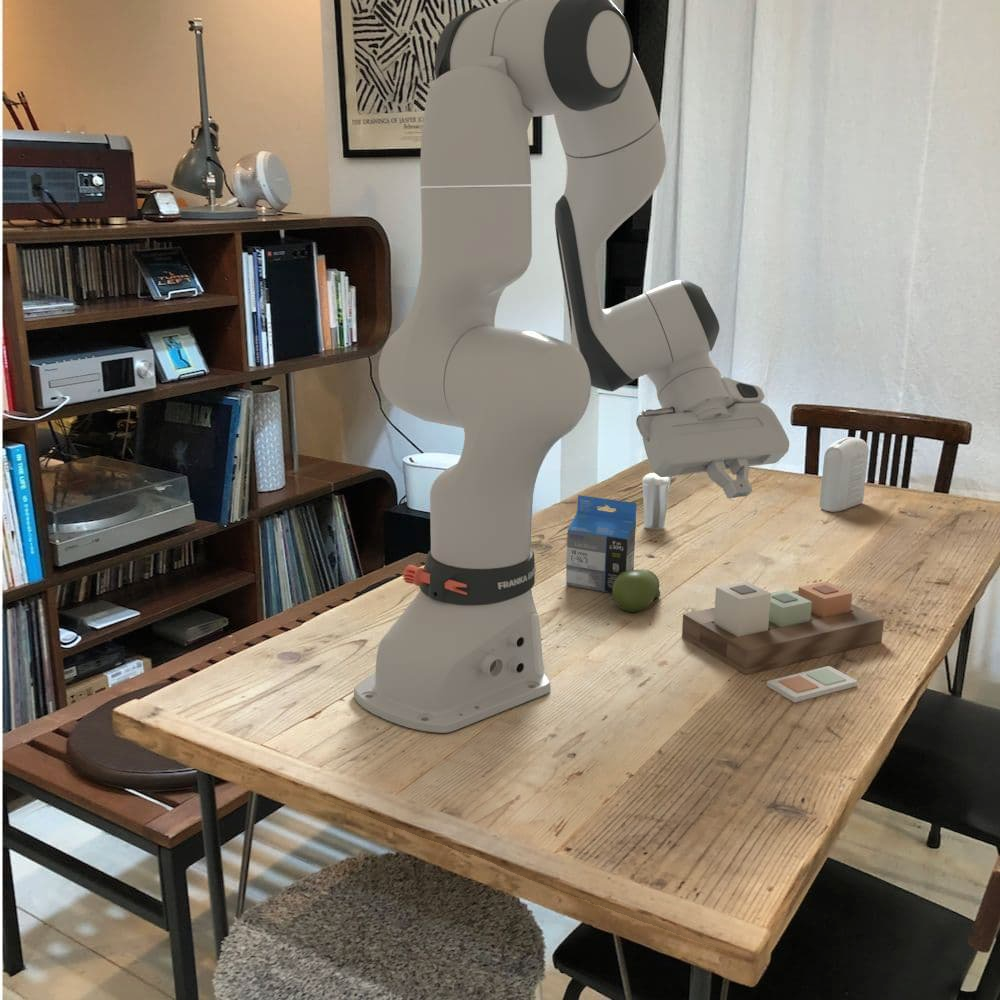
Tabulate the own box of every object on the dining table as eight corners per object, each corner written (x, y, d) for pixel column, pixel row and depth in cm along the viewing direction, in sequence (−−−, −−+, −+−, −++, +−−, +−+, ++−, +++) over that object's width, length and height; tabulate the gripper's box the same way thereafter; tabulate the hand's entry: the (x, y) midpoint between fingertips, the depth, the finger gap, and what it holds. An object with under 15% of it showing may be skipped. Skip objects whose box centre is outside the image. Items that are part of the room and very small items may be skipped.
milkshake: (664, 534, 166) (667, 474, 164) (635, 528, 169) (637, 469, 167) (677, 527, 170) (680, 468, 167) (648, 521, 173) (651, 464, 170)
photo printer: (844, 498, 187) (850, 431, 184) (866, 503, 184) (873, 435, 181) (815, 509, 180) (821, 440, 177) (838, 514, 177) (844, 444, 174)
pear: (607, 571, 133) (631, 560, 142) (604, 611, 134) (628, 598, 143) (649, 577, 131) (670, 566, 140) (645, 618, 131) (667, 604, 141)
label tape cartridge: (564, 586, 143) (566, 501, 140) (574, 577, 147) (576, 494, 143) (625, 596, 140) (628, 509, 136) (634, 587, 143) (637, 502, 140)
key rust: (821, 634, 126) (824, 597, 124) (795, 621, 130) (798, 586, 128) (848, 628, 128) (852, 592, 126) (822, 615, 132) (826, 580, 130)
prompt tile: (794, 702, 110) (794, 696, 110) (766, 686, 114) (767, 680, 113) (856, 685, 114) (857, 679, 114) (828, 670, 118) (828, 664, 117)
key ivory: (737, 637, 120) (740, 598, 118) (713, 623, 123) (716, 586, 122) (768, 630, 122) (771, 592, 120) (743, 617, 125) (746, 580, 124)
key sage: (779, 644, 123) (783, 606, 122) (755, 630, 127) (757, 594, 126) (808, 637, 125) (812, 600, 124) (783, 624, 129) (786, 588, 127)
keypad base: (745, 674, 116) (747, 650, 116) (681, 636, 127) (683, 613, 126) (881, 641, 125) (884, 618, 125) (812, 608, 136) (814, 587, 135)
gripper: (642, 397, 128) (684, 491, 123) (770, 386, 137) (815, 473, 131) (621, 425, 133) (661, 517, 128) (746, 413, 142) (788, 498, 136)
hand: (740, 495), depth 130 cm, fingers closed
